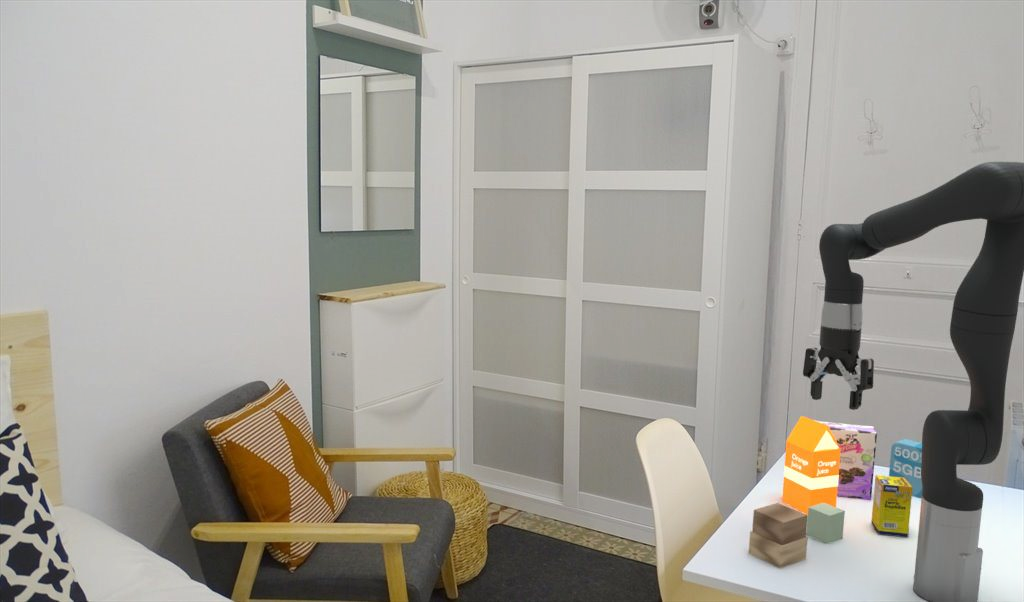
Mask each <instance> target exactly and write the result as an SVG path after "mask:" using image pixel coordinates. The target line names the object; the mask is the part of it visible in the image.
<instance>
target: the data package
mask: <svg viewBox="0 0 1024 602" xmlns="http://www.w3.org/2000/svg"><path fill="white" fill-rule="evenodd" d="M921 460H922V442H919V441H915V440H911V439H905V438H903V439H900V440H898V441H895V442H893V444H892V445H891V449H890V460H889V472H888V473H889V474H888V476H892V477H903V478H905V479H906V480H907V481H908V482H909V484H910V485H911V486H912V487H913V489H912V497H916V498H919V499H922V480H921Z"/></svg>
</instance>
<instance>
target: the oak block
mask: <svg viewBox="0 0 1024 602" xmlns="http://www.w3.org/2000/svg"><path fill="white" fill-rule="evenodd" d="M807 548H808V537H807V536H806V538H803V539H800V540H797V541H794V542H791V543H788V544H785V545H780V544H778V543H775V542H773V541H771V540H769V539H767V538H765V537H762V536H760V535H758V534H756V533H754V532H752V531H749V543H748V554H750V555H752V556H753V557H754V556H755V557H756V558H758V559H760V560H762V561H764V562H767V563H768V564H771V565H773V566H774V567H777V568H779V569H782V568H785V567H788V566H790V565H794V564H796V563H798V562H801V561H805V560H807V550H808V549H807Z"/></svg>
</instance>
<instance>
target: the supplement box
mask: <svg viewBox="0 0 1024 602" xmlns="http://www.w3.org/2000/svg"><path fill="white" fill-rule="evenodd" d="M873 489H874V490H873V503H872V512H871V515H872V516H871V525H872V526H873V528H874V530H875V531H876V532H877V534H878V535H884V536H886V535H887V536H894V537H904V538H905V537H906V538H907V537H909V528H910V520H911V519H910V516H911V508H912V497H913V496H912V489H913V487H912V486H911V485H910V484H909V482H908V481H907V480H906V479H905V478H903V477H892V476H889V475H881V474H880V475H879V474H878V475H877V474H876V475H875V479H874V488H873Z"/></svg>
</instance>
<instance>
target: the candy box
mask: <svg viewBox="0 0 1024 602" xmlns="http://www.w3.org/2000/svg"><path fill="white" fill-rule="evenodd" d="M813 420H814V419H813ZM814 421H817V422H820V423H822V424H825V425H827V426H829V428H830V430H831V432H832V434H833V436H834V438H835V440H836V442H837V444H838V446H839V448H840V449H841V451H840V463H839V479H838V488H837V497H843V498H844V497H845V498H851V499H858V500H859V499H860V500H869V501H871V500H872V494H873V482H874V471H875V462H876V461H875V460H876V450H877V449H876V448H877V439H878V433H877V431H876V429H875V427H874V426H872V425H859V424H850V423H841V422H830V421H821V420H814Z"/></svg>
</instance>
